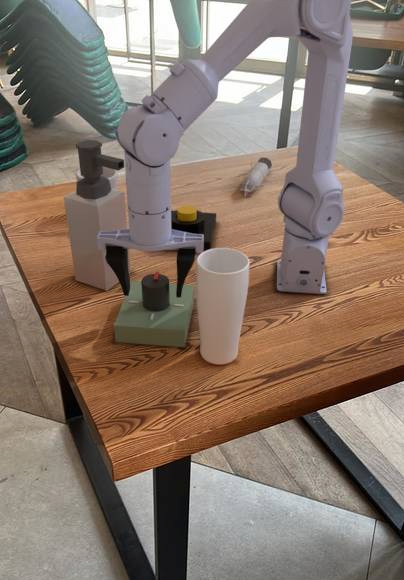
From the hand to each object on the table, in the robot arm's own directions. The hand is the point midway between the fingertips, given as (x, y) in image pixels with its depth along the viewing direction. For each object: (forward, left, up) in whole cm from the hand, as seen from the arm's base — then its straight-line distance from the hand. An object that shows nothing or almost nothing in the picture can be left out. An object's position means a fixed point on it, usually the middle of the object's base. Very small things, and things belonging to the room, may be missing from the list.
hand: (153, 293), depth 84 cm
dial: (-1, -1, -1) cm, 2 cm away
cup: (+34, +16, -5) cm, 38 cm away
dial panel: (-1, -1, -4) cm, 5 cm away
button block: (+27, -2, -4) cm, 28 cm away
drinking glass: (-8, -11, -5) cm, 14 cm away
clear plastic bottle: (+54, -14, -5) cm, 56 cm away
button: (+27, -2, -1) cm, 27 cm away
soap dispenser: (+10, +9, -5) cm, 15 cm away
